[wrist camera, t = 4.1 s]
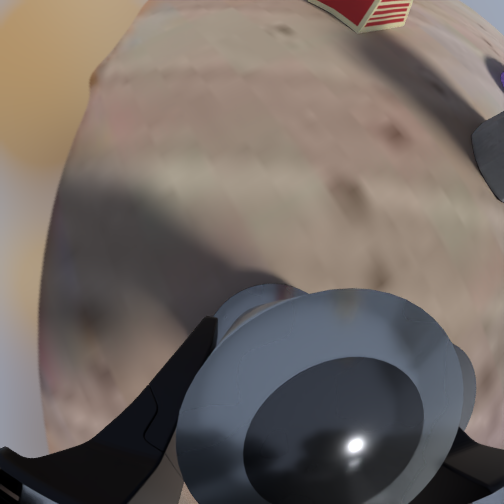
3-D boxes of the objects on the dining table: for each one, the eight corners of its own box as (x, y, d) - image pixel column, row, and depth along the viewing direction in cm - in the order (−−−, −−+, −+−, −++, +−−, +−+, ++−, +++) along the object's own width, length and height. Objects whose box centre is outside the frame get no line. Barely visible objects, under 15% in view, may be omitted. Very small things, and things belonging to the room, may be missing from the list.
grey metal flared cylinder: (277, 425, 15) (333, 589, 3) (182, 354, 16) (51, 446, 3) (352, 334, 16) (530, 361, 4) (260, 260, 17) (304, 136, 4)
